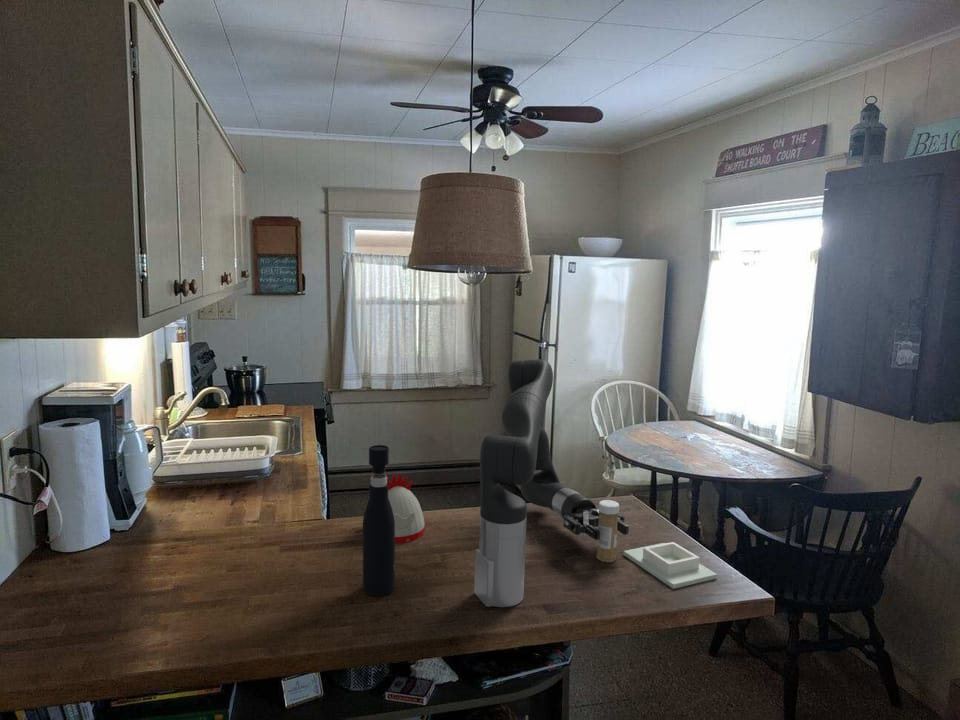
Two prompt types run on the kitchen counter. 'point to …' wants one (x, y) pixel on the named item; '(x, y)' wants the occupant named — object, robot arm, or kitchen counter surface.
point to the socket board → (671, 564)
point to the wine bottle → (378, 530)
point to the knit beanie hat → (405, 510)
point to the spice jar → (607, 530)
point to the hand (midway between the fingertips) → (613, 533)
